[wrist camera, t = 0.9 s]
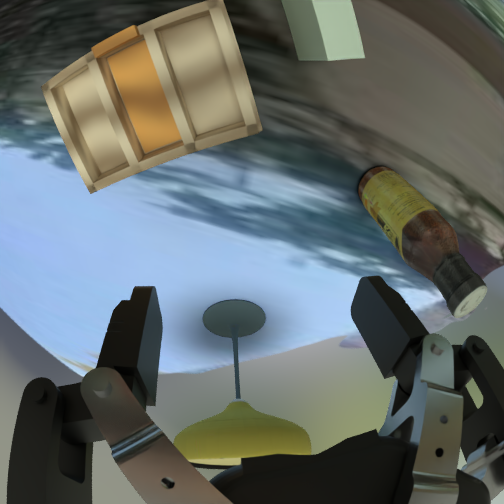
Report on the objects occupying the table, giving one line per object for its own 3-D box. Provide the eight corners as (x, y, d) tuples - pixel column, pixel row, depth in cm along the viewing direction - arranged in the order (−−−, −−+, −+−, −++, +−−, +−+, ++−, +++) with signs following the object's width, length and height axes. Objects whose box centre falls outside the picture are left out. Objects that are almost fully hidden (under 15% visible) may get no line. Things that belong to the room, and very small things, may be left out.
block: (273, -21, 16) (292, -52, 9) (302, -24, 15) (332, -52, 8) (298, 60, 22) (328, 60, 15) (326, 56, 22) (364, 58, 15)
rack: (53, 80, 19) (32, 87, 16) (222, 0, 17) (221, -11, 14) (100, 185, 29) (86, 202, 25) (261, 128, 27) (266, 138, 23)
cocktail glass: (223, 354, 54) (227, 471, 35) (160, 311, 44) (143, 458, 25) (302, 324, 49) (330, 454, 30) (251, 265, 39) (271, 451, 20)
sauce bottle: (347, 194, 32) (427, 322, 17) (374, 155, 29) (483, 265, 14) (380, 214, 35) (456, 330, 19) (406, 179, 31) (501, 285, 16)
